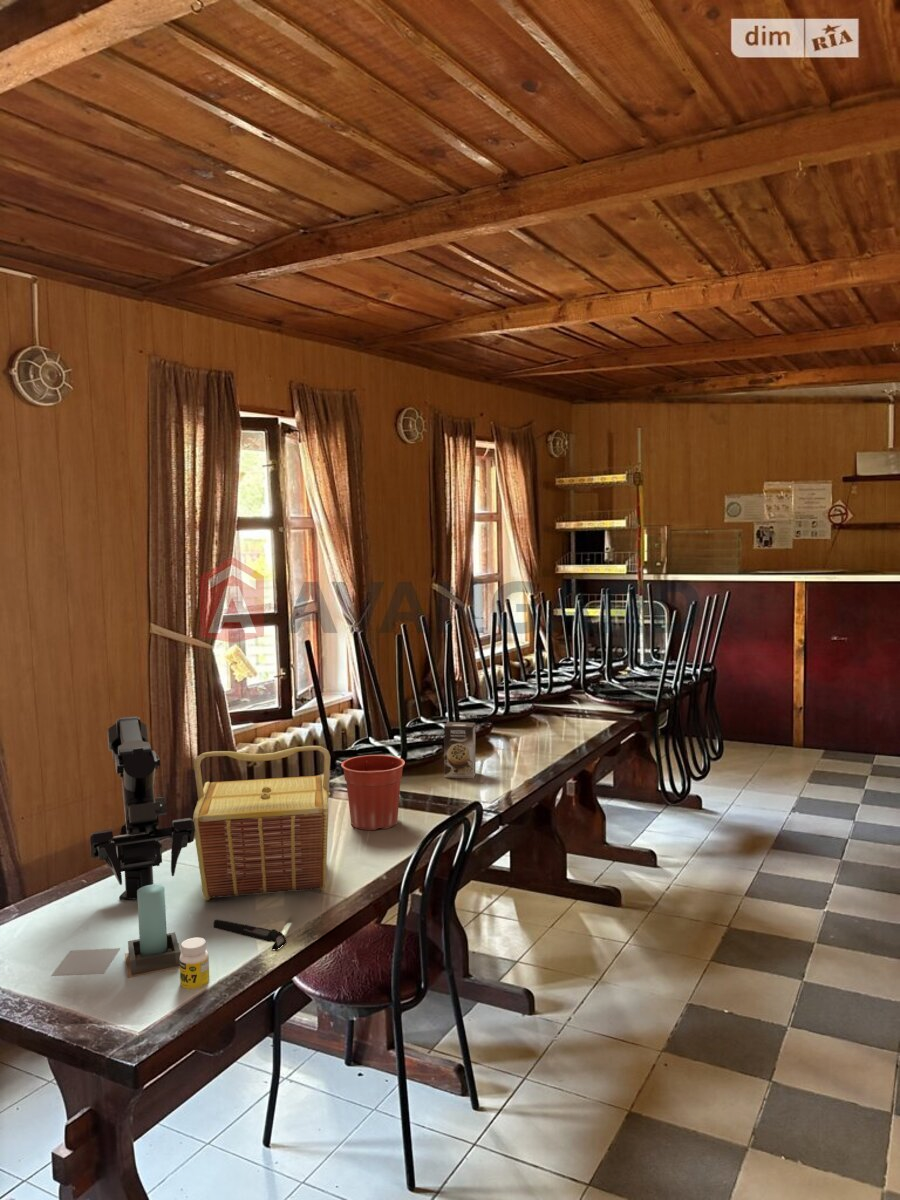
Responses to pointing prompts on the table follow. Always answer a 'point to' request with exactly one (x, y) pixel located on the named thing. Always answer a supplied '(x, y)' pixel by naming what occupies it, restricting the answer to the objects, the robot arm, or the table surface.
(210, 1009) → the table surface
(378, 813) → the flower pot
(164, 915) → the peg
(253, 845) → the picnic basket
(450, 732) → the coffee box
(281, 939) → the electric trimmer
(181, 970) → the supplement bottle
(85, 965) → the pad
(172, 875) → the robot arm
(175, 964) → the socket
